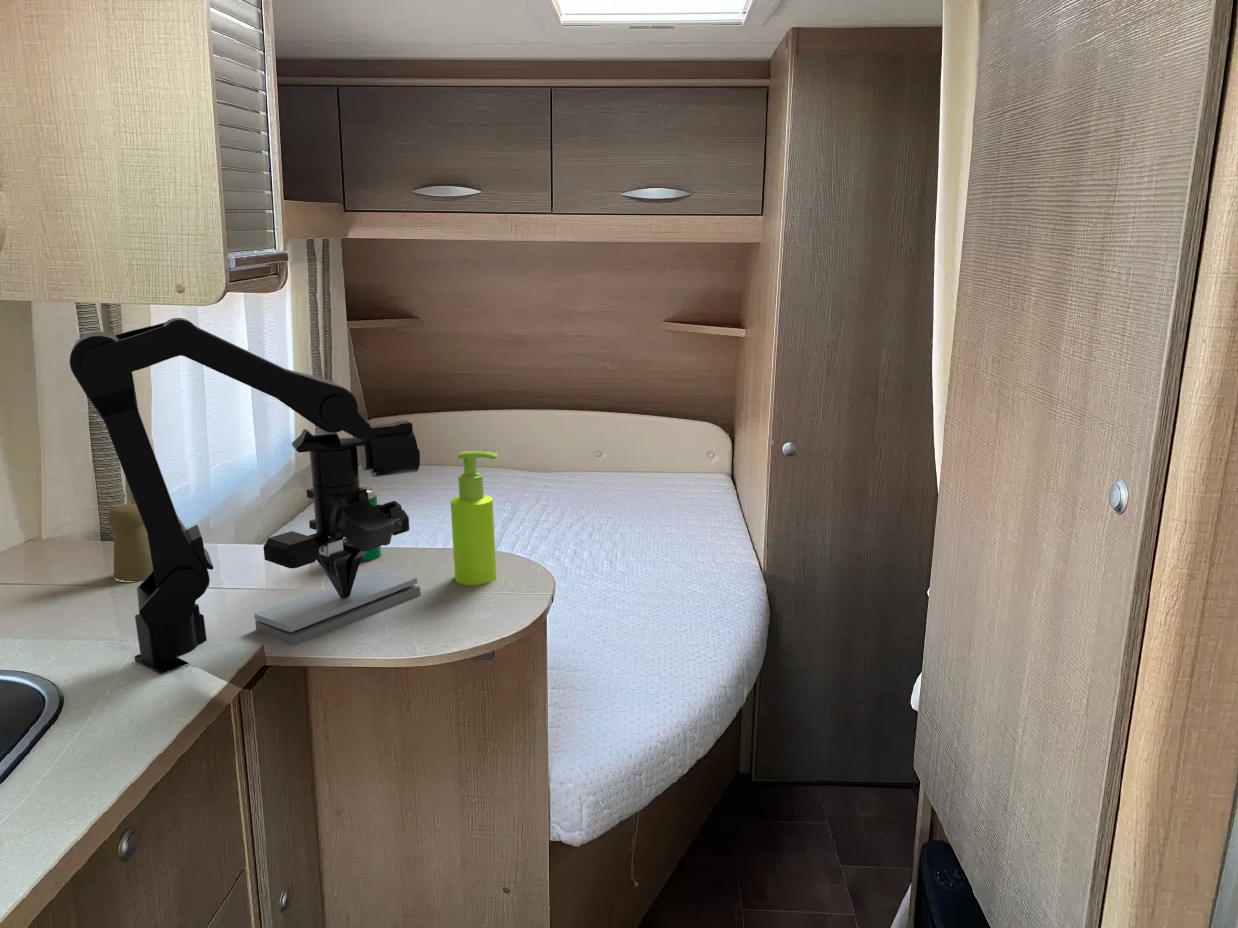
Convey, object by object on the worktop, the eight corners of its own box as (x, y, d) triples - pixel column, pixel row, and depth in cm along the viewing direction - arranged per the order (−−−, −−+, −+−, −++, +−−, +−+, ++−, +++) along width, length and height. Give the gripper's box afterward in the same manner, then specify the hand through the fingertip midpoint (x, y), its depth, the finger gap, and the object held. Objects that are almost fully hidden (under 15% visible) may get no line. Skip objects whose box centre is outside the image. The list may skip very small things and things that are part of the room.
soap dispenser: (500, 594, 132) (494, 456, 127) (451, 594, 132) (443, 456, 127) (506, 579, 137) (500, 447, 133) (460, 579, 138) (452, 447, 133)
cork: (114, 585, 137) (103, 513, 135) (113, 573, 142) (102, 503, 140) (159, 577, 140) (150, 507, 137) (157, 566, 145) (147, 498, 143)
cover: (290, 632, 113) (289, 626, 112) (255, 619, 117) (254, 613, 117) (417, 583, 128) (416, 577, 128) (381, 573, 132) (381, 568, 132)
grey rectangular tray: (295, 655, 113) (293, 636, 112) (257, 639, 118) (255, 621, 117) (421, 603, 128) (419, 586, 128) (383, 591, 133) (381, 575, 133)
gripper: (312, 510, 106) (323, 637, 110) (435, 475, 120) (440, 588, 124) (255, 494, 112) (267, 614, 116) (378, 463, 127) (385, 571, 131)
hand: (344, 596), depth 122 cm, fingers closed, pressing on cover
